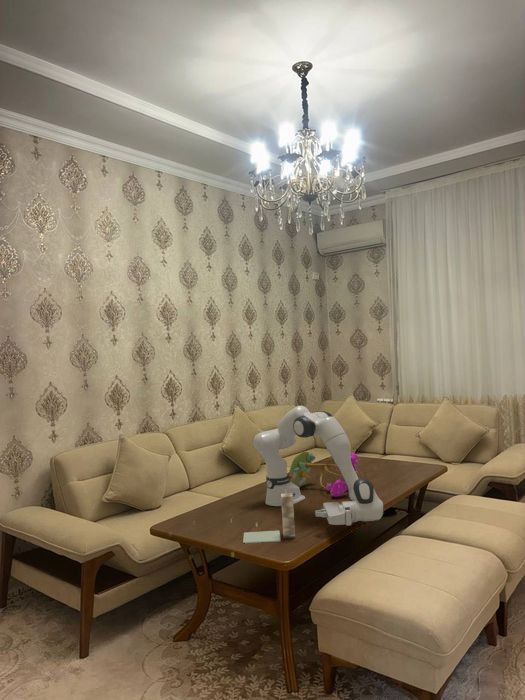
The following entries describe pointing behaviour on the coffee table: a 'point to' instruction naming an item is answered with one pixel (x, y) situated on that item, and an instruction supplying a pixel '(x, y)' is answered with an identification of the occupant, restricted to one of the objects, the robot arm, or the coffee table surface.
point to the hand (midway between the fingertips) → (315, 513)
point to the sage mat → (261, 537)
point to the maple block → (288, 515)
